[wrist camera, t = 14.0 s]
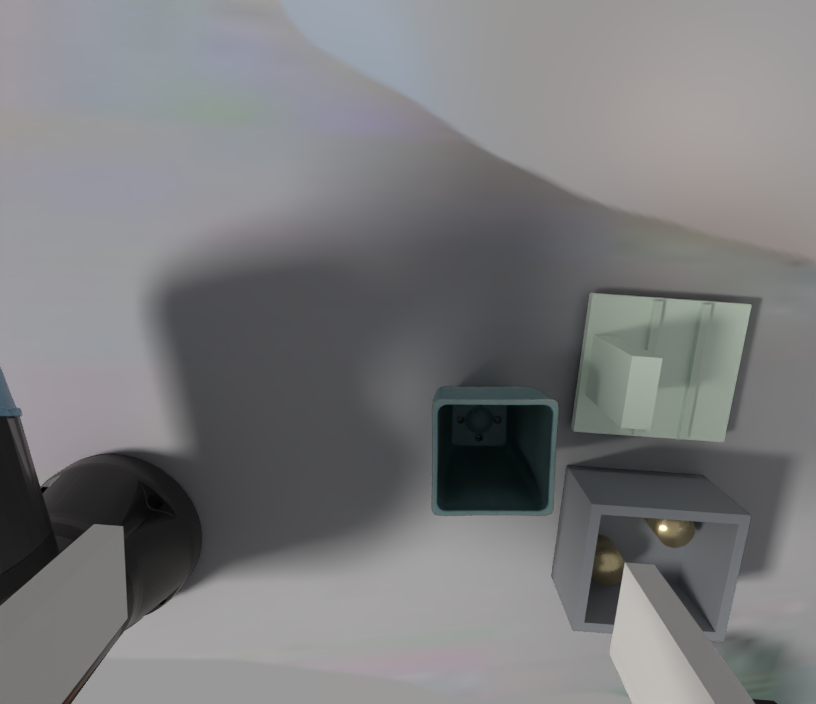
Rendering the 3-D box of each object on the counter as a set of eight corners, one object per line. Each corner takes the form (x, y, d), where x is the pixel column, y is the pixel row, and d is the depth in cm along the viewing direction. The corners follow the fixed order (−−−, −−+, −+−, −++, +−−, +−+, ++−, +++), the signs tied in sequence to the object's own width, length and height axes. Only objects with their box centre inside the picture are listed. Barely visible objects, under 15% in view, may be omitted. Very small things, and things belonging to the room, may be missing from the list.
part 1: (578, 563, 48) (588, 584, 45) (582, 533, 47) (593, 552, 44) (611, 566, 48) (624, 587, 45) (616, 535, 47) (629, 555, 44)
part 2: (640, 527, 47) (655, 546, 44) (646, 496, 46) (661, 513, 43) (674, 529, 47) (691, 549, 44) (680, 498, 46) (698, 516, 43)
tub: (551, 576, 49) (572, 630, 42) (566, 465, 47) (591, 504, 40) (681, 585, 49) (723, 641, 42) (702, 475, 47) (751, 515, 40)
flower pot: (532, 368, 45) (560, 399, 36) (528, 465, 47) (553, 517, 38) (429, 368, 45) (431, 399, 36) (429, 465, 47) (431, 516, 38)
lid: (568, 425, 46) (606, 472, 37) (586, 291, 44) (632, 305, 34) (713, 435, 46) (789, 485, 36) (739, 302, 44) (828, 319, 34)
